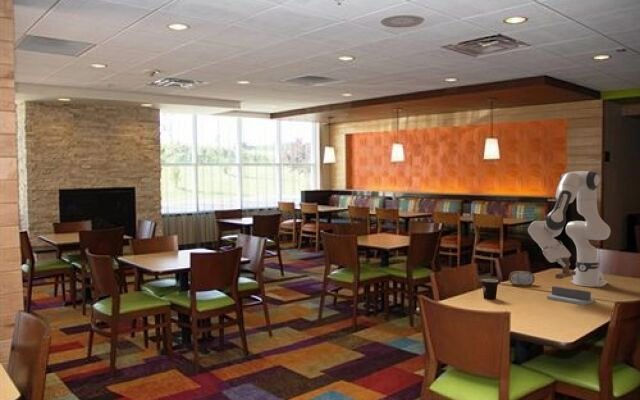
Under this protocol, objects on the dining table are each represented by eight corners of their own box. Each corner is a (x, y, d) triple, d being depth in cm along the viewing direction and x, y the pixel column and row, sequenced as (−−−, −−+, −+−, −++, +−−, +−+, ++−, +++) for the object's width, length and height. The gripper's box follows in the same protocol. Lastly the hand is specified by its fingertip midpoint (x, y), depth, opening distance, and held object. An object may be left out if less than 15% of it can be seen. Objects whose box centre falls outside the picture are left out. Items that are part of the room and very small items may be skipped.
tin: (533, 284, 329) (533, 271, 328) (535, 285, 326) (535, 272, 325) (508, 284, 330) (508, 270, 330) (509, 285, 327) (509, 271, 327)
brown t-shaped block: (571, 274, 297) (571, 256, 296) (575, 274, 295) (575, 256, 294) (555, 278, 285) (555, 259, 285) (560, 278, 283) (560, 260, 283)
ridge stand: (558, 295, 300) (558, 284, 299) (595, 301, 284) (595, 290, 284) (547, 298, 291) (547, 287, 291) (584, 305, 276) (584, 294, 276)
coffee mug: (499, 300, 288) (499, 282, 287) (482, 299, 290) (482, 281, 289) (496, 295, 299) (496, 278, 299) (480, 295, 301) (480, 277, 300)
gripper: (544, 244, 288) (562, 264, 281) (562, 241, 301) (579, 260, 294) (536, 251, 291) (553, 271, 284) (554, 248, 304) (571, 267, 297)
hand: (567, 265), depth 289 cm, fingers closed on brown t-shaped block, 2 cm apart
